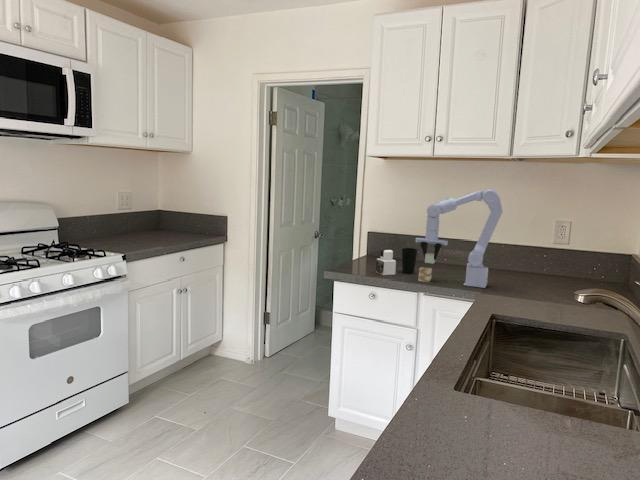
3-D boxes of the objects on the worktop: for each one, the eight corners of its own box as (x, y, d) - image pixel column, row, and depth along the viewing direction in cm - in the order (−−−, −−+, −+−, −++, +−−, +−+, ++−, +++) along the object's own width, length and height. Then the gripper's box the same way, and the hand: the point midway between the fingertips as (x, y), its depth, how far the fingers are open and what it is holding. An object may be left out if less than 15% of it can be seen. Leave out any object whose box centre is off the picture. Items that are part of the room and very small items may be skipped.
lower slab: (431, 280, 225) (431, 274, 224) (428, 282, 220) (429, 276, 220) (420, 279, 227) (421, 273, 226) (418, 281, 222) (418, 275, 222)
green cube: (435, 262, 224) (435, 253, 224) (433, 263, 221) (433, 255, 220) (426, 261, 226) (427, 252, 226) (424, 262, 223) (425, 254, 222)
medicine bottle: (375, 272, 238) (376, 248, 236) (387, 271, 240) (389, 248, 239) (382, 275, 231) (384, 251, 229) (395, 274, 234) (397, 250, 232)
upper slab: (431, 274, 224) (432, 268, 224) (429, 276, 220) (430, 270, 219) (421, 273, 226) (421, 267, 226) (418, 275, 222) (419, 268, 221)
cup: (409, 274, 235) (410, 250, 233) (397, 272, 241) (398, 248, 239) (419, 273, 240) (420, 249, 238) (407, 270, 245) (408, 247, 244)
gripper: (449, 230, 222) (447, 259, 224) (419, 228, 228) (417, 255, 230) (446, 232, 215) (444, 261, 217) (415, 229, 222) (413, 258, 224)
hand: (430, 258), depth 223 cm, fingers closed on green cube, 4 cm apart
